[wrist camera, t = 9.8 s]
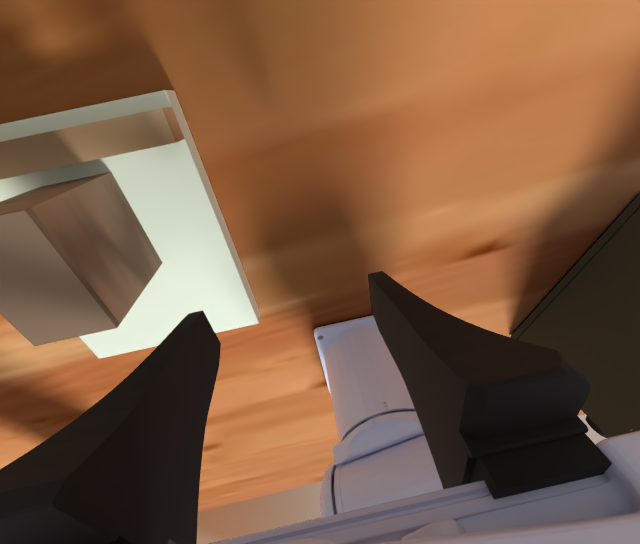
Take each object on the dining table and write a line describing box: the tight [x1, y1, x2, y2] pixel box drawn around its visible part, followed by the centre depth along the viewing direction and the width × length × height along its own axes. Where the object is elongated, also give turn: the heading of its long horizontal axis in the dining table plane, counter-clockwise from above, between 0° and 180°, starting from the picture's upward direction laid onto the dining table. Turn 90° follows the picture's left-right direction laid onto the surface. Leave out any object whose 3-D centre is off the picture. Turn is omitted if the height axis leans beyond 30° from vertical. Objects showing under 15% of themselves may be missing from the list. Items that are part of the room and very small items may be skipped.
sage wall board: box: [0, 90, 260, 359], centre depth 19 cm, size 16×13×2 cm
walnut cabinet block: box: [0, 172, 162, 346], centre depth 14 cm, size 6×4×6 cm, turn 10°
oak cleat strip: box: [0, 107, 185, 180], centre depth 14 cm, size 2×13×2 cm, turn 101°
